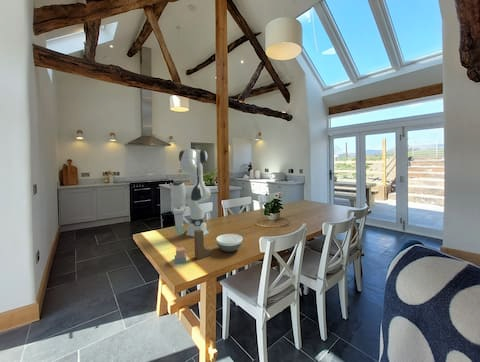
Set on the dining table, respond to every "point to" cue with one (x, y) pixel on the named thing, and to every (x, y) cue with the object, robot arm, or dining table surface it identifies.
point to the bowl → (229, 242)
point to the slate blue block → (180, 260)
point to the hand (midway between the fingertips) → (179, 229)
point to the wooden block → (200, 245)
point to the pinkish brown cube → (180, 253)
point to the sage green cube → (181, 230)
